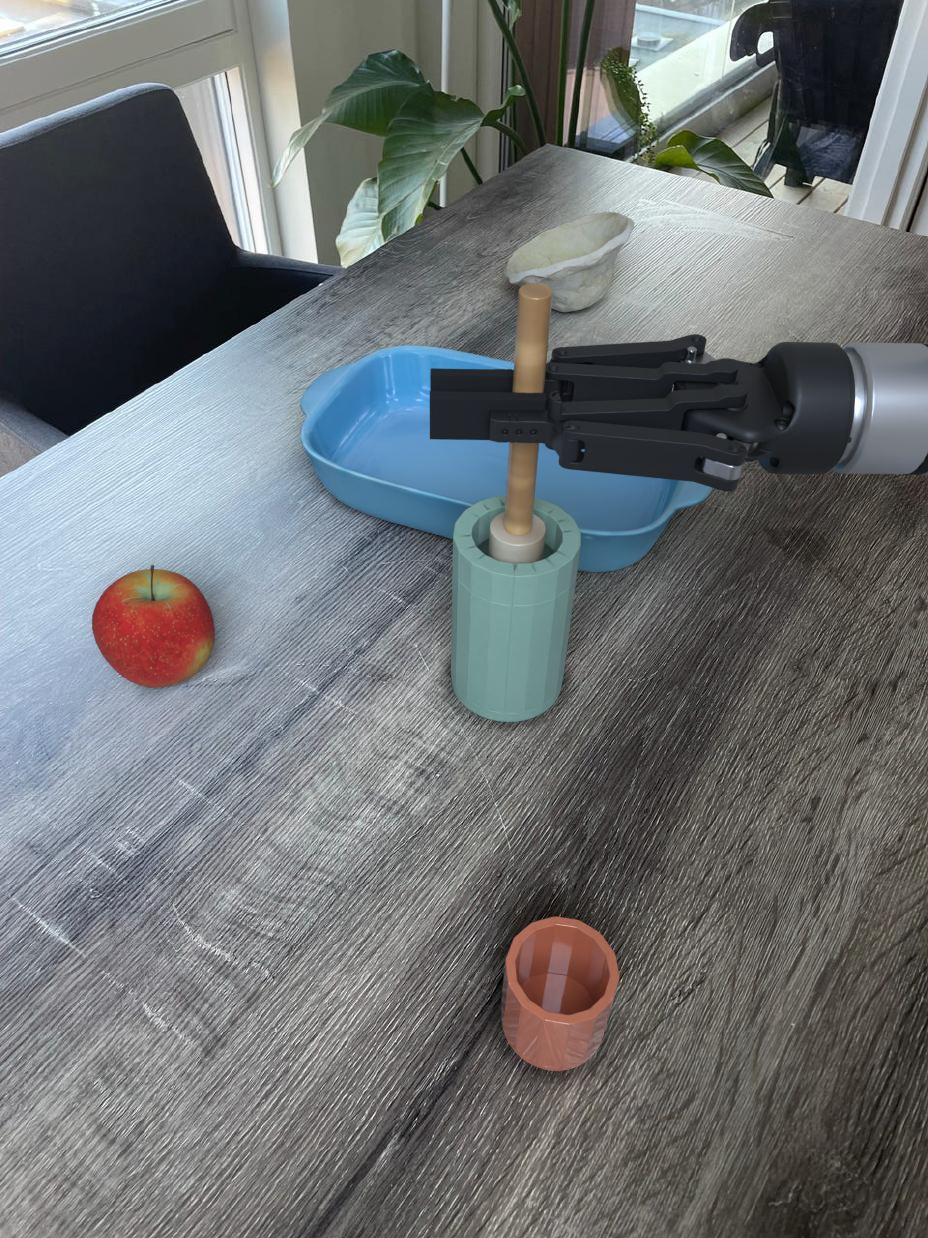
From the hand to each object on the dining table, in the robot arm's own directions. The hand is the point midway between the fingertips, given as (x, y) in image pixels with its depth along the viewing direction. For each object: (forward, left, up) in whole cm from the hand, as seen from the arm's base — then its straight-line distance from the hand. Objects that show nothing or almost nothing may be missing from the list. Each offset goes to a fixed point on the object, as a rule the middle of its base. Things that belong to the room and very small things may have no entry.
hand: (430, 403), depth 58 cm
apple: (-11, +16, -24) cm, 31 cm away
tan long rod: (+3, -5, -17) cm, 18 cm away
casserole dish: (+22, +8, -24) cm, 34 cm away
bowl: (+57, +22, -24) cm, 66 cm away
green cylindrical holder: (+3, -5, -24) cm, 24 cm away
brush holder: (-17, -21, -24) cm, 35 cm away
